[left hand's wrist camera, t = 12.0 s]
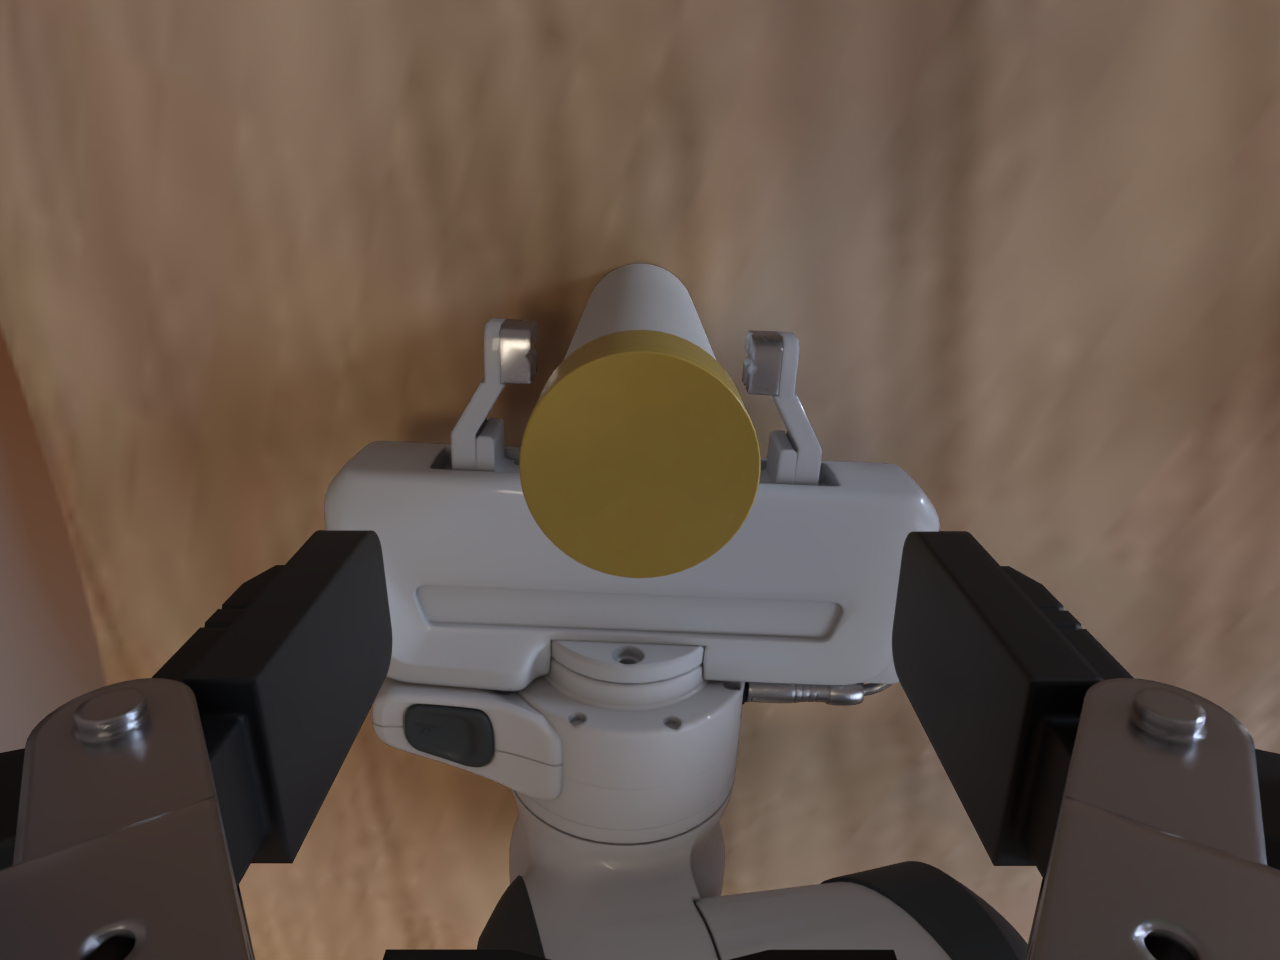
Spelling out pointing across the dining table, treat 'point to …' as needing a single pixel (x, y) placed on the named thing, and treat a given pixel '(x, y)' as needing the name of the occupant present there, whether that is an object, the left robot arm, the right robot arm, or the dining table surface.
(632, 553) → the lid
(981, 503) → the dining table surface
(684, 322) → the white tall cylinder
